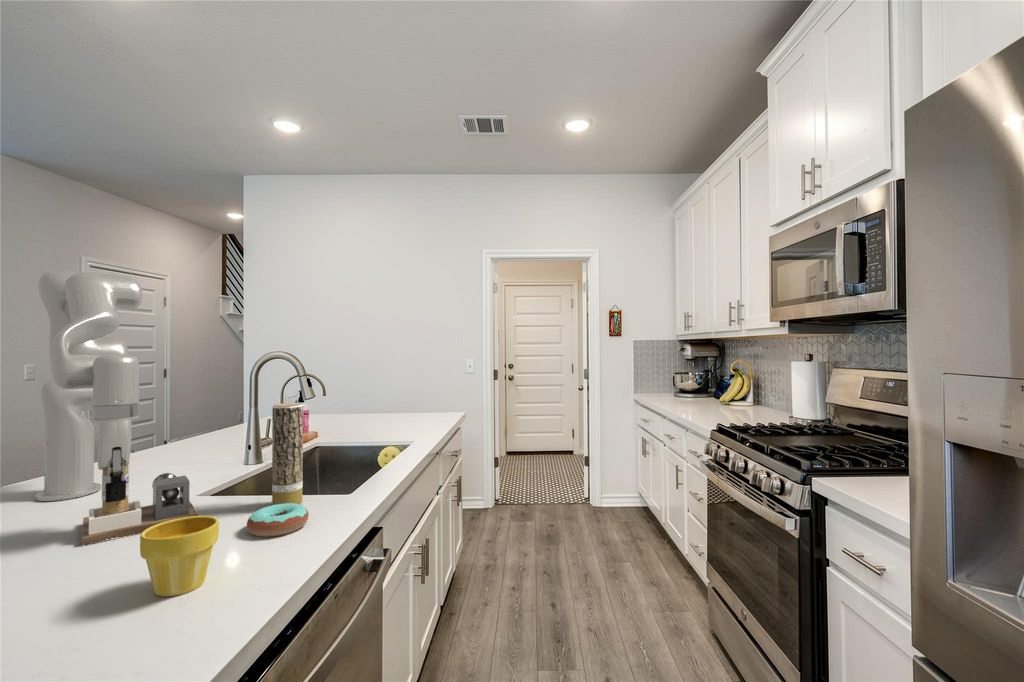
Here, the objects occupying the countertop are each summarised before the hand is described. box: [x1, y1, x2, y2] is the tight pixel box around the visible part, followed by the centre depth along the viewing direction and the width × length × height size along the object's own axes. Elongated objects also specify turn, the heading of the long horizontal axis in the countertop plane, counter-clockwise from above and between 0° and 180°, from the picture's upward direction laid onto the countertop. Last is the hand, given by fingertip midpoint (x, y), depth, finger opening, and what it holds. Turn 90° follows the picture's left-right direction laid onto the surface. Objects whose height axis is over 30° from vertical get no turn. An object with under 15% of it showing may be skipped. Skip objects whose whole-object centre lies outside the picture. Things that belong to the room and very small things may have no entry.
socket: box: [88, 500, 142, 535], centre depth 96 cm, size 8×8×3 cm
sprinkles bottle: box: [101, 448, 130, 516], centre depth 97 cm, size 5×5×13 cm
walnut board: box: [81, 500, 199, 547], centre depth 101 cm, size 15×19×2 cm
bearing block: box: [152, 475, 190, 521], centre depth 102 cm, size 6×6×8 cm
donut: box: [246, 503, 309, 538], centre depth 98 cm, size 12×12×4 cm
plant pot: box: [139, 515, 220, 598], centre depth 74 cm, size 10×10×10 cm
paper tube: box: [271, 402, 304, 506], centre depth 112 cm, size 7×7×25 cm
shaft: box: [152, 472, 180, 501], centre depth 106 cm, size 11×5×5 cm, turn 43°
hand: (115, 497), depth 96 cm, fingers closed on sprinkles bottle, 4 cm apart
